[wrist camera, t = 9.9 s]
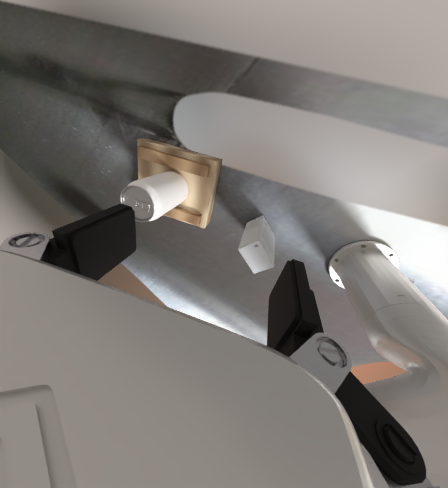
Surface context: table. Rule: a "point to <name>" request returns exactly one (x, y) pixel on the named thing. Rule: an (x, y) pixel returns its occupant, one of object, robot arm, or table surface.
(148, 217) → the can
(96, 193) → the table surface
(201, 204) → the plinth
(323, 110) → the table surface
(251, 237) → the skincare box
